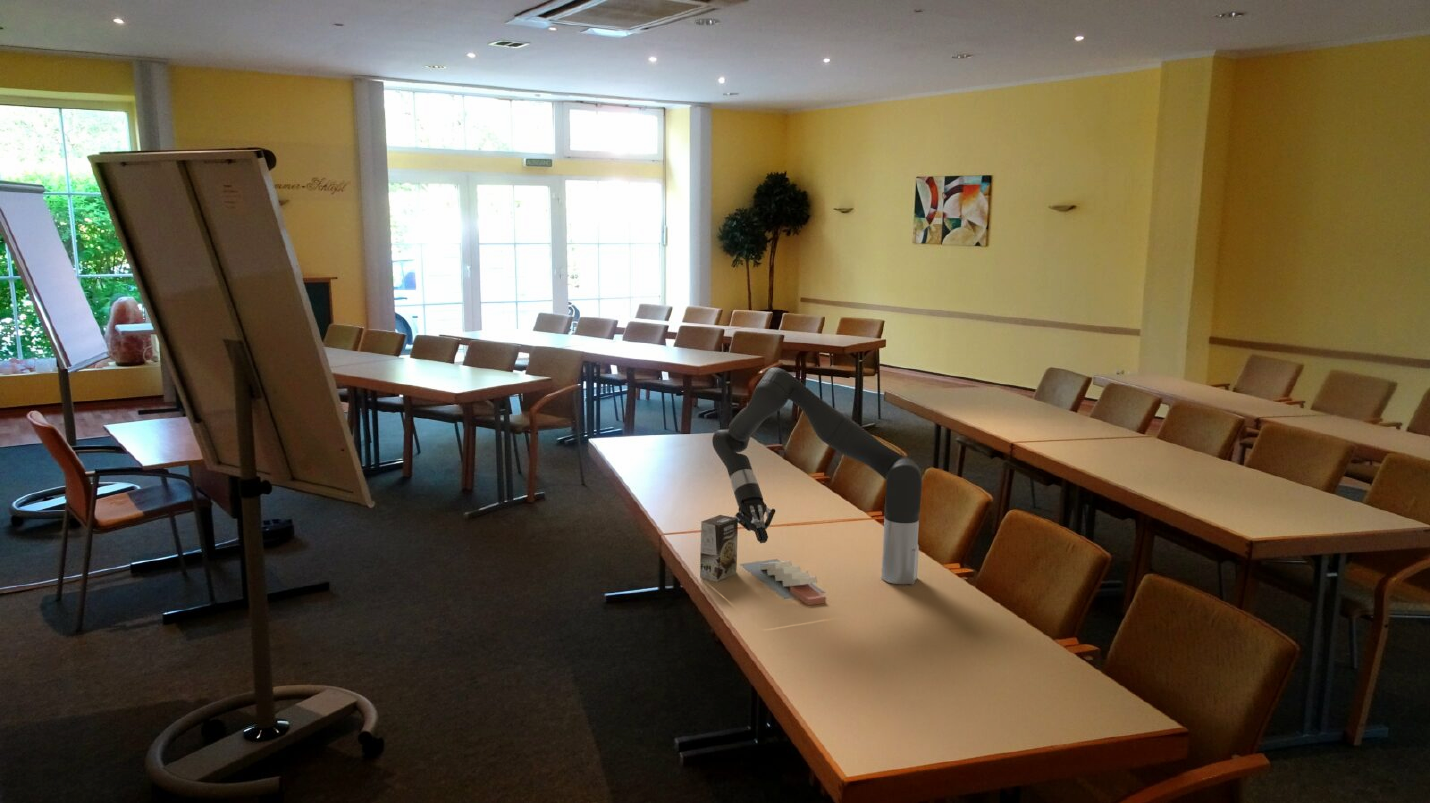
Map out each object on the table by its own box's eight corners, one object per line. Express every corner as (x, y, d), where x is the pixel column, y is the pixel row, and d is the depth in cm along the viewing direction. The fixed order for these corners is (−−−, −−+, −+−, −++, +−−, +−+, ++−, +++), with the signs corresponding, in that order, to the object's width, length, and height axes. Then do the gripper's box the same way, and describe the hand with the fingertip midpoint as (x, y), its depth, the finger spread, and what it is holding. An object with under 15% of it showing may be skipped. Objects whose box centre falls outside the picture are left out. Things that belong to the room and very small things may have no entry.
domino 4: (798, 578, 257) (816, 576, 248) (799, 584, 257) (817, 582, 248) (782, 580, 255) (799, 578, 246) (783, 586, 255) (800, 584, 246)
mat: (739, 565, 272) (739, 563, 272) (776, 560, 277) (776, 558, 276) (784, 600, 247) (784, 598, 246) (825, 593, 251) (825, 592, 251)
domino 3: (791, 572, 261) (808, 570, 252) (792, 578, 261) (809, 576, 252) (774, 575, 259) (791, 573, 250) (775, 581, 259) (792, 579, 250)
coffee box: (717, 583, 258) (719, 525, 255) (699, 577, 262) (699, 520, 259) (737, 574, 265) (739, 517, 262) (719, 568, 269) (720, 513, 266)
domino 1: (775, 561, 270) (791, 560, 261) (776, 567, 269) (792, 566, 260) (759, 563, 268) (774, 562, 259) (760, 569, 267) (775, 568, 258)
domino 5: (806, 583, 253) (825, 596, 244) (806, 589, 253) (825, 602, 244) (790, 585, 251) (808, 599, 242) (789, 591, 251) (808, 605, 242)
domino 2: (783, 567, 265) (799, 565, 256) (784, 573, 265) (800, 571, 256) (767, 569, 263) (783, 567, 254) (767, 575, 263) (784, 574, 254)
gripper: (762, 493, 283) (780, 545, 274) (721, 497, 277) (738, 550, 268) (770, 479, 277) (789, 533, 268) (729, 483, 272) (747, 538, 263)
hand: (763, 541), depth 268 cm, fingers closed
